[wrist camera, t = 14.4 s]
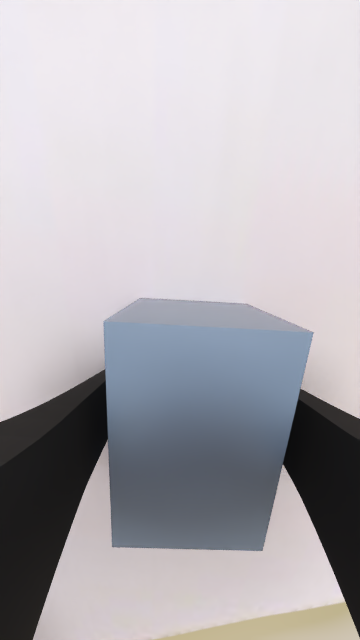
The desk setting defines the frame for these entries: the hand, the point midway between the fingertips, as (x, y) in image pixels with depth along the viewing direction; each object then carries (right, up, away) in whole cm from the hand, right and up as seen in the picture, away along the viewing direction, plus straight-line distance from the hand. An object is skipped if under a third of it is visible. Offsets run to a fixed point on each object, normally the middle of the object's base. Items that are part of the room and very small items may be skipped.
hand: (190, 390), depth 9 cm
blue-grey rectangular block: (0, 0, +2) cm, 2 cm away
